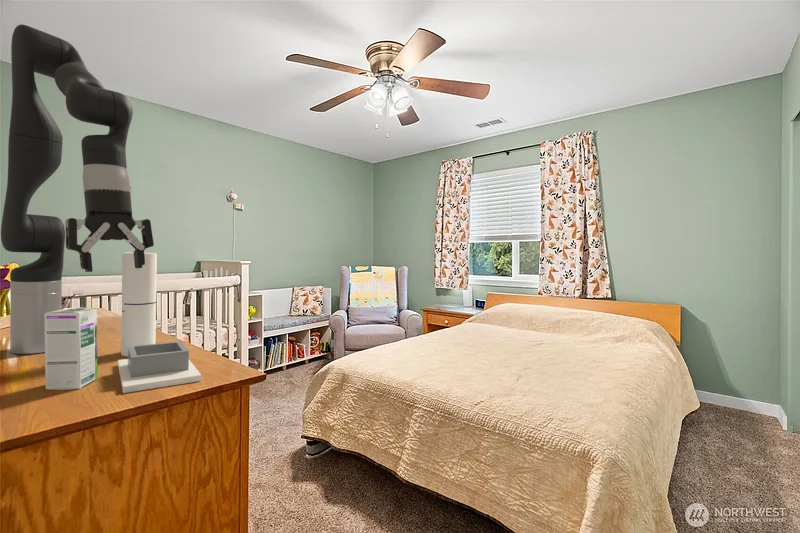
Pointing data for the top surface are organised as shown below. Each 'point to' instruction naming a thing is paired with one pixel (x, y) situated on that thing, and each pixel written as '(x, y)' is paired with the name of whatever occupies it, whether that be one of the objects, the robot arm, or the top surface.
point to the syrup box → (70, 348)
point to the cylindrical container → (138, 301)
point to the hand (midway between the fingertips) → (114, 269)
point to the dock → (156, 367)
